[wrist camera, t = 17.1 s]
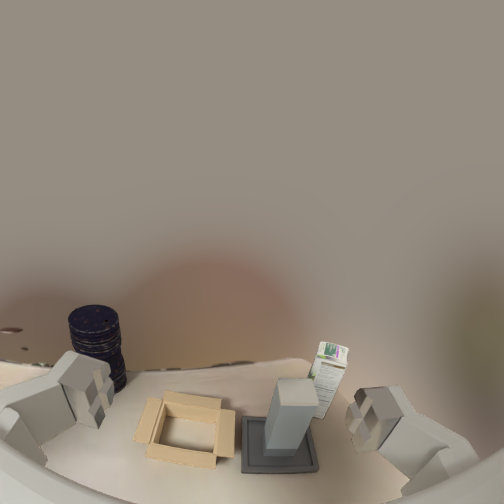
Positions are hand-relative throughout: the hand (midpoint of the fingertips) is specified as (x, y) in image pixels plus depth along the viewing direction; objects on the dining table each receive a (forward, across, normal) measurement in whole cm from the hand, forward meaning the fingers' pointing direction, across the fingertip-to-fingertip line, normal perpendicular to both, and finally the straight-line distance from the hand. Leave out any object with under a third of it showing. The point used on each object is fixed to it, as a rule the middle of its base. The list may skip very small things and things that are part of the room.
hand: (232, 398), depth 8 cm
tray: (+21, -10, +34) cm, 41 cm away
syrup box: (+31, -18, +34) cm, 50 cm away
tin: (+21, -10, +33) cm, 41 cm away
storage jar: (+31, +24, +34) cm, 52 cm away
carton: (+21, +5, +34) cm, 40 cm away
